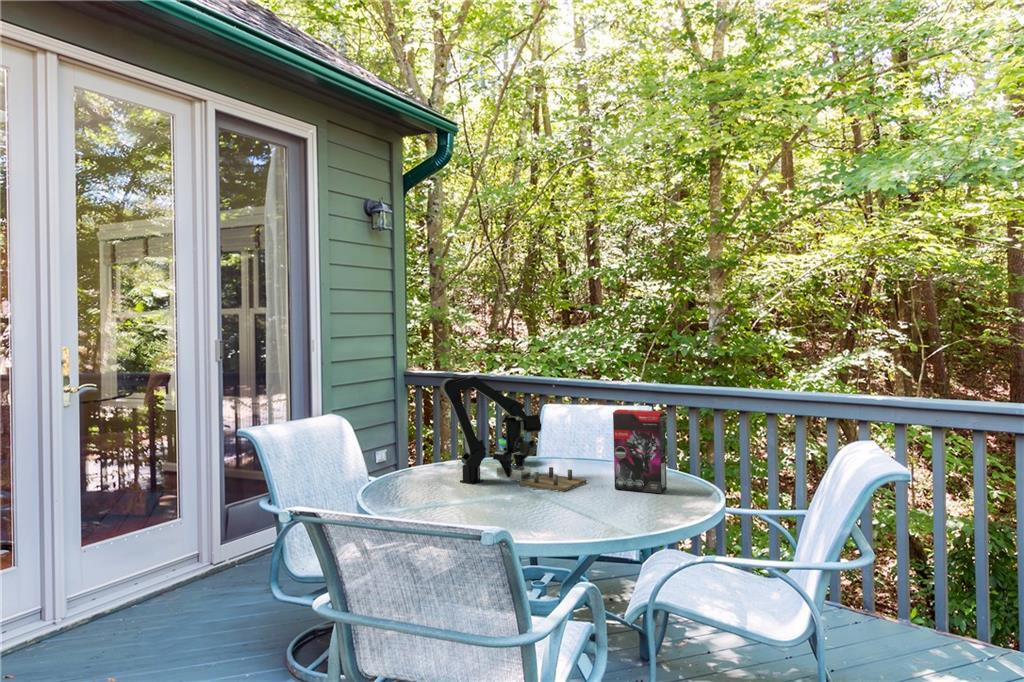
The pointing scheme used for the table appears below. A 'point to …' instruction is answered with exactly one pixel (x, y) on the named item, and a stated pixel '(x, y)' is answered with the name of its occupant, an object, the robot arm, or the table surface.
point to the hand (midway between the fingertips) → (514, 475)
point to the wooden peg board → (553, 481)
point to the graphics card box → (639, 450)
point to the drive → (515, 473)
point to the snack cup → (503, 444)
